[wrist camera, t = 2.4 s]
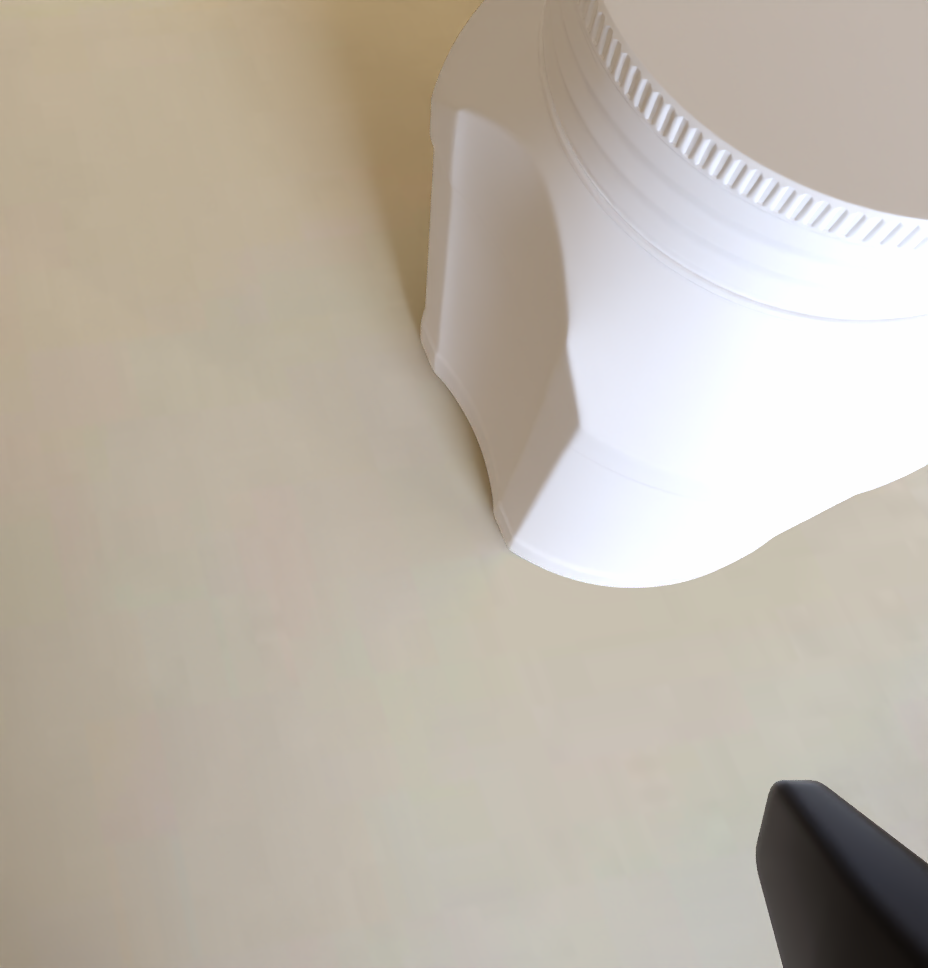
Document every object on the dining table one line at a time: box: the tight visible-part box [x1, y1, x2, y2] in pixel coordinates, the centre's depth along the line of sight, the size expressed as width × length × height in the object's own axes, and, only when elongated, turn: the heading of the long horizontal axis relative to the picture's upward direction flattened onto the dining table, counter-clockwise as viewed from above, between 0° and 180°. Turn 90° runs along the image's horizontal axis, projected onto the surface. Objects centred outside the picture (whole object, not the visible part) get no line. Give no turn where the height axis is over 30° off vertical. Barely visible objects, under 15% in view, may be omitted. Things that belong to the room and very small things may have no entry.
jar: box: [420, 0, 928, 588], centre depth 18 cm, size 12×10×15 cm
